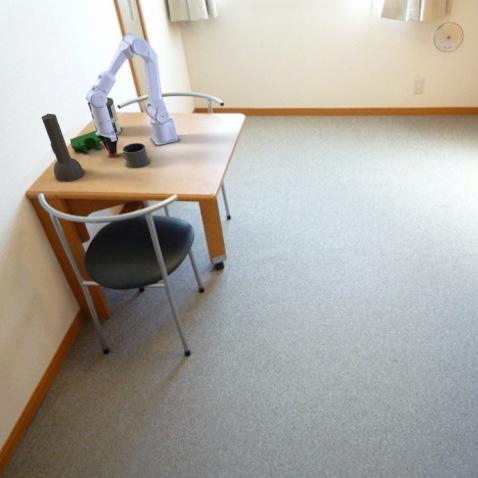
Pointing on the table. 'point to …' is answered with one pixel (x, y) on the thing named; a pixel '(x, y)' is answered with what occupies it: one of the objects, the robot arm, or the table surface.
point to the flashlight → (61, 151)
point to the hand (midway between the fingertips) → (111, 151)
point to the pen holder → (135, 155)
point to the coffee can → (111, 113)
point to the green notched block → (85, 142)
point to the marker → (109, 151)
